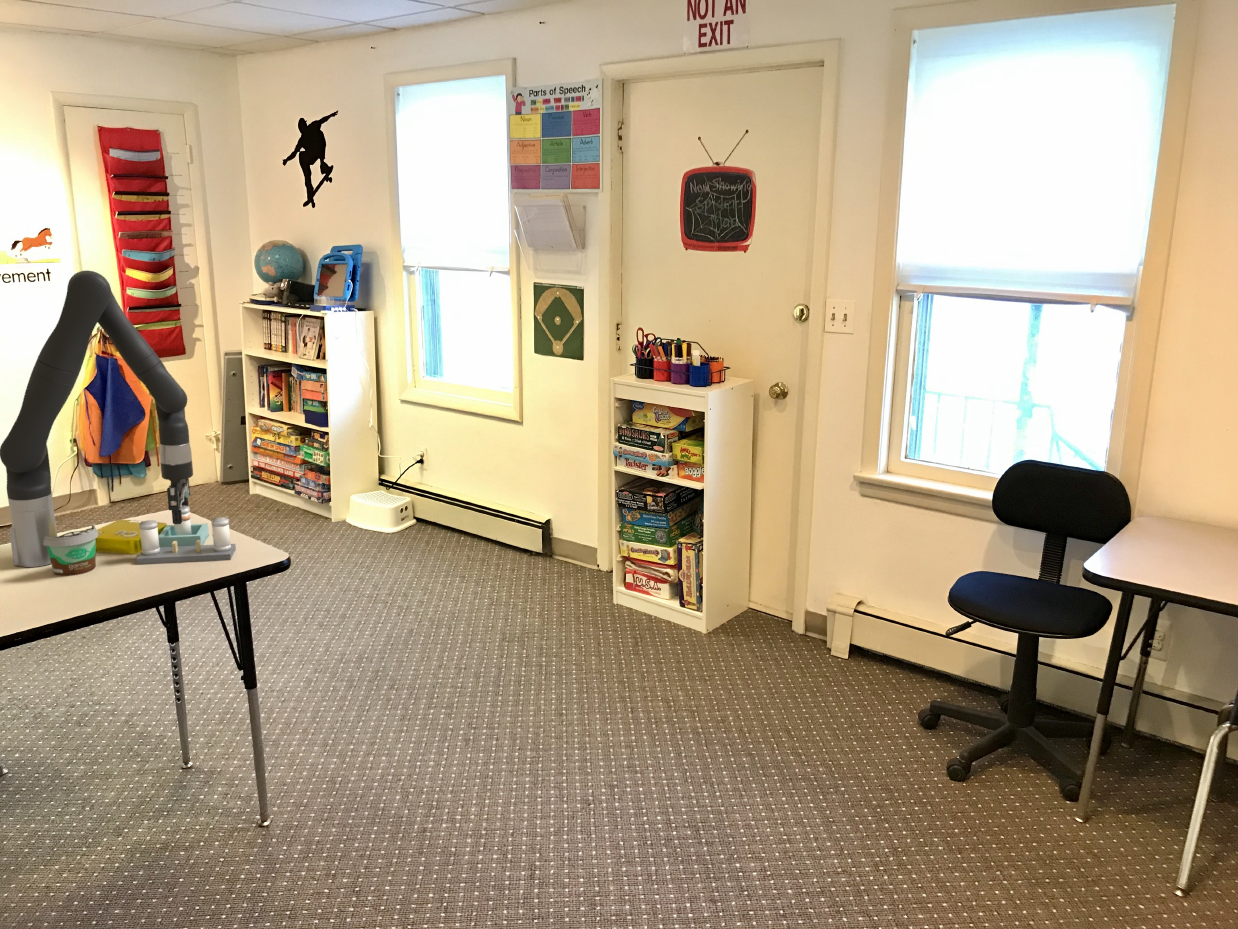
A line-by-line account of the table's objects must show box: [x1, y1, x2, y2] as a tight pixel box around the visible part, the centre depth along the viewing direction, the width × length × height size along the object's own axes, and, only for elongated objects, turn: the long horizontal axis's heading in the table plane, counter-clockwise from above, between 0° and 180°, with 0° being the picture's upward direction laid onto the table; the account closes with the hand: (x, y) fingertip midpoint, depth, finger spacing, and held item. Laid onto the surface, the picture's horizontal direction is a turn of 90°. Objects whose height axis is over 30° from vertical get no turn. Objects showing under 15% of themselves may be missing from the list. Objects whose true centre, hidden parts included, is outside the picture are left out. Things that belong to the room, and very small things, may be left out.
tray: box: [158, 523, 210, 547], centre depth 250 cm, size 10×10×4 cm
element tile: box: [95, 519, 167, 555], centre depth 248 cm, size 15×15×5 cm
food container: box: [43, 524, 98, 577], centre depth 227 cm, size 12×6×10 cm, turn 147°
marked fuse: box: [173, 505, 192, 536], centre depth 249 cm, size 4×4×9 cm
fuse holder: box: [136, 516, 237, 565], centre depth 239 cm, size 22×8×10 cm, turn 103°
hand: (181, 518), depth 248 cm, fingers open, 8 cm apart
